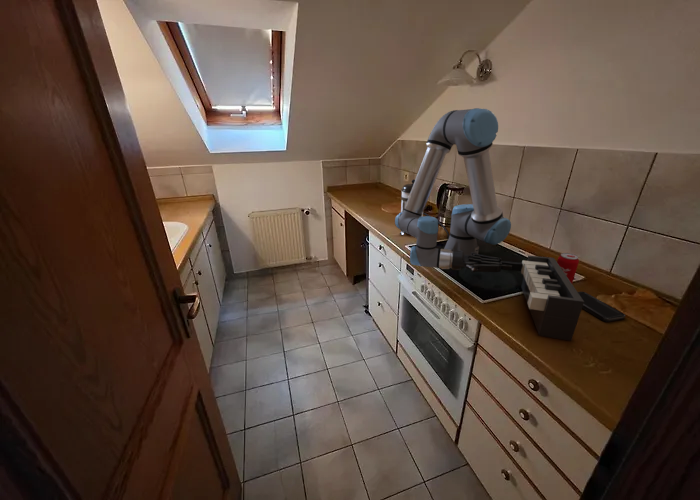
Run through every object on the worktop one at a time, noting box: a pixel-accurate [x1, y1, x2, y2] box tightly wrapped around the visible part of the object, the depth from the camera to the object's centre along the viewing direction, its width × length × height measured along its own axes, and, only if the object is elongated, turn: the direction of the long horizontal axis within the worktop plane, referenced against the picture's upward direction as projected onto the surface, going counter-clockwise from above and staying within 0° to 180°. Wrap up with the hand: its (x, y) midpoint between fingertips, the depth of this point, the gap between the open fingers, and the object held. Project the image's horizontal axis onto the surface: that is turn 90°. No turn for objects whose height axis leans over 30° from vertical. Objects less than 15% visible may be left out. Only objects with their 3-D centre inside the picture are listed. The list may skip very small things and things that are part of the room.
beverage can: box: [556, 252, 580, 284], centre depth 109 cm, size 6×6×12 cm
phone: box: [577, 291, 626, 323], centre depth 98 cm, size 8×1×15 cm
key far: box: [520, 259, 548, 275], centre depth 104 cm, size 3×8×4 cm, turn 71°
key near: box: [527, 292, 557, 311], centre depth 85 cm, size 3×8×4 cm, turn 71°
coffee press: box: [399, 179, 424, 236], centre depth 162 cm, size 17×16×30 cm
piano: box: [520, 254, 584, 342], centre depth 95 cm, size 29×10×13 cm, turn 161°
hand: (521, 267), depth 106 cm, fingers closed
